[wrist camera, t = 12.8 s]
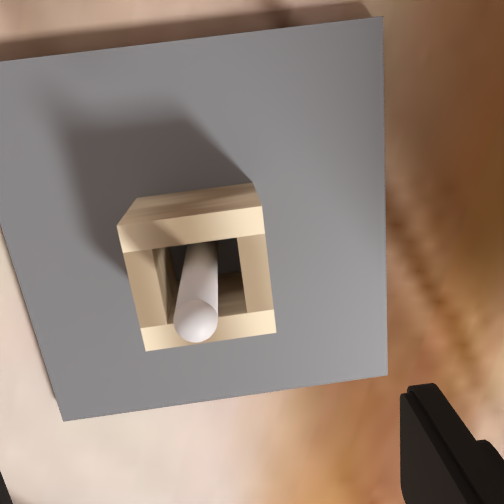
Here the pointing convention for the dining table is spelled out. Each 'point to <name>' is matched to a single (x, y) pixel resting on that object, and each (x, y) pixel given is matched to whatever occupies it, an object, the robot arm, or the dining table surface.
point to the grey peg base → (195, 178)
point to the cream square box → (195, 231)
